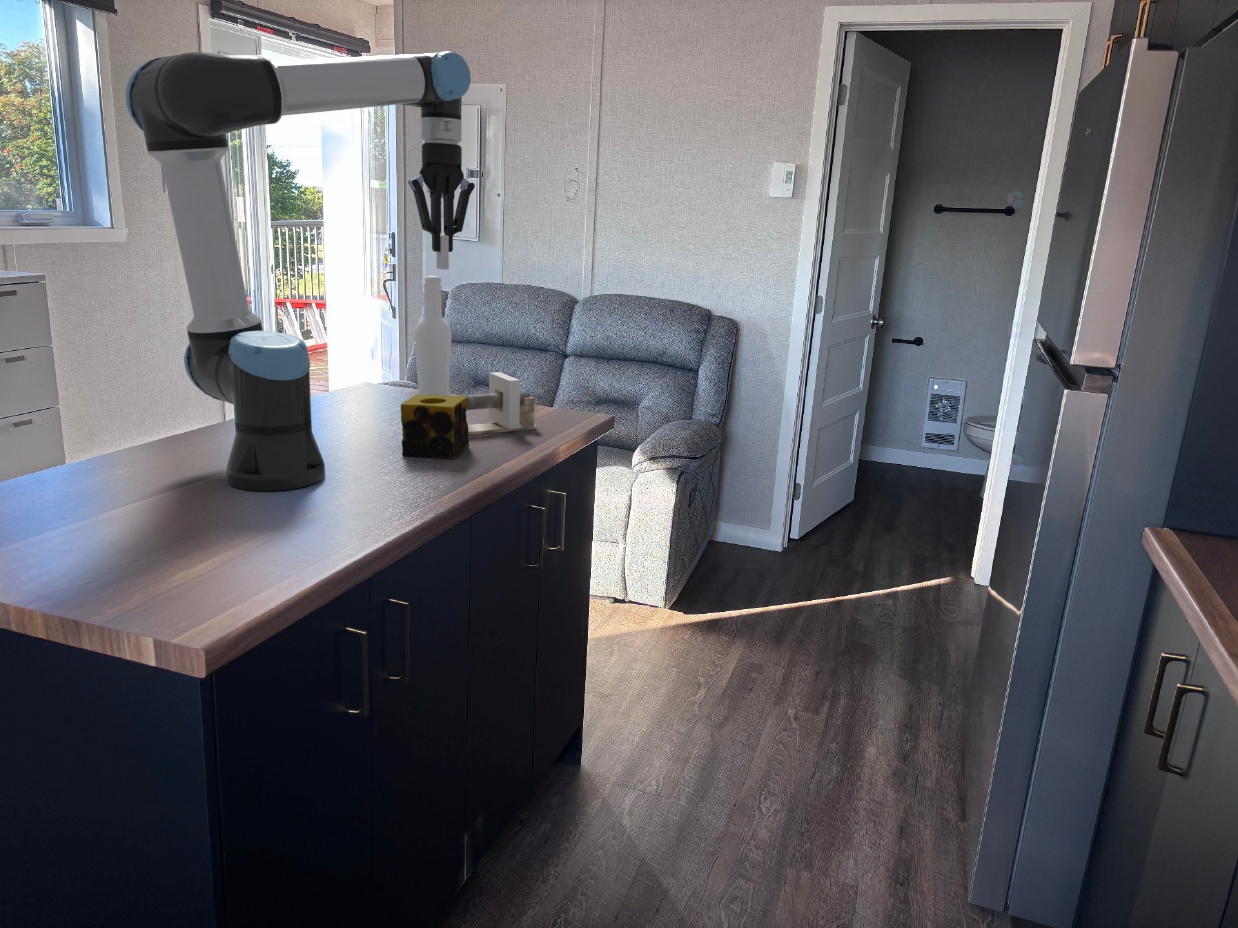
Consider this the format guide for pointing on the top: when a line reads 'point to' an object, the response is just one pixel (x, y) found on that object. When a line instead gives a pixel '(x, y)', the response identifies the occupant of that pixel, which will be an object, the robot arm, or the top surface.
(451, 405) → the yellow cube with hole
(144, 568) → the top surface
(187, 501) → the top surface
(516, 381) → the upright white plank
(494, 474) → the top surface
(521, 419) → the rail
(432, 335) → the bottle
